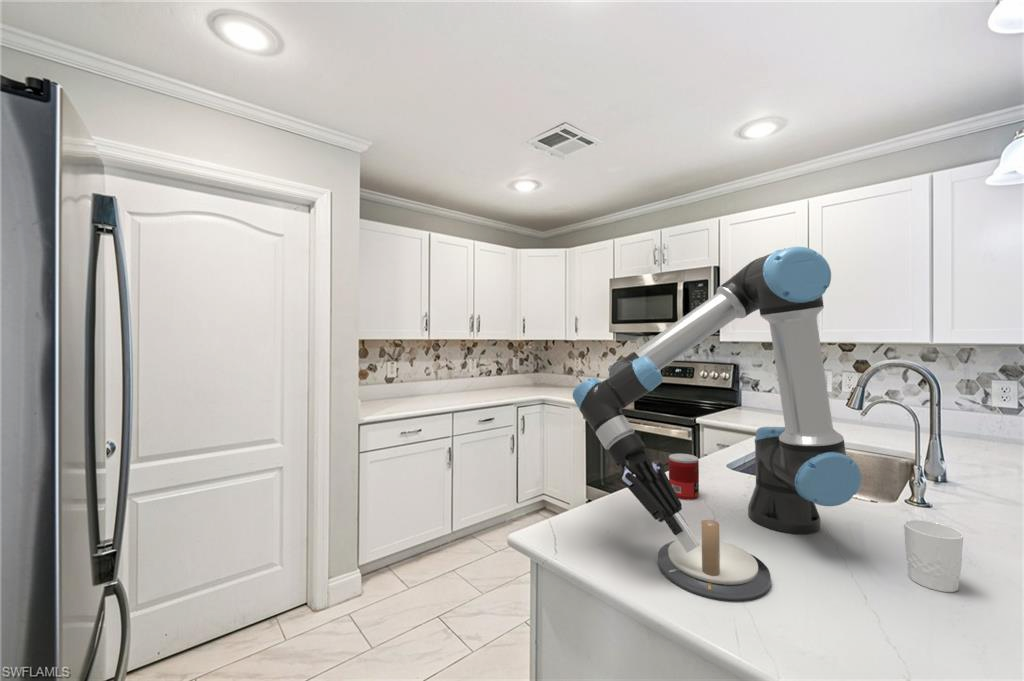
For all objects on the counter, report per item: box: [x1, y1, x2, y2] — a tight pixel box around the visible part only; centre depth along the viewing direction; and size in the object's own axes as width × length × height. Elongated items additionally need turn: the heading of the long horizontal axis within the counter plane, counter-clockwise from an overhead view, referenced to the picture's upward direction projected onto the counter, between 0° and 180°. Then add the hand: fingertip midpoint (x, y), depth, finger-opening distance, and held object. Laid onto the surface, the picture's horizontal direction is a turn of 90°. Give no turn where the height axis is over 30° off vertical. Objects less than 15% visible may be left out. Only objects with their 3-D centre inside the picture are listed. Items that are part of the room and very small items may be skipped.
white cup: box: [903, 519, 964, 593], centre depth 81 cm, size 8×8×10 cm
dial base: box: [657, 539, 772, 603], centre depth 86 cm, size 20×20×2 cm
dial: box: [668, 519, 758, 585], centre depth 86 cm, size 16×16×10 cm
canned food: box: [668, 453, 700, 500], centre depth 126 cm, size 8×8×11 cm
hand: (693, 548), depth 81 cm, fingers closed
